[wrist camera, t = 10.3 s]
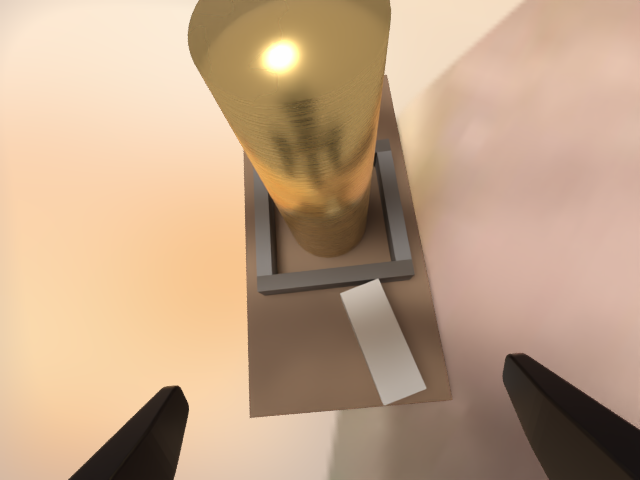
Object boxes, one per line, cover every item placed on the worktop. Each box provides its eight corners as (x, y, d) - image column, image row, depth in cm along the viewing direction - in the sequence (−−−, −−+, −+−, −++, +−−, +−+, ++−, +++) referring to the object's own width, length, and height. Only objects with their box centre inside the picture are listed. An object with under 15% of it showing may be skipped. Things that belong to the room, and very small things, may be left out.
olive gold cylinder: (334, 273, 18) (298, 141, 6) (276, 228, 19) (148, 41, 7) (381, 214, 19) (433, -7, 7) (322, 174, 20) (277, -76, 8)
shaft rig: (446, 396, 16) (466, 408, 14) (255, 413, 17) (236, 428, 14) (385, 86, 23) (390, 49, 20) (246, 105, 23) (232, 72, 20)
